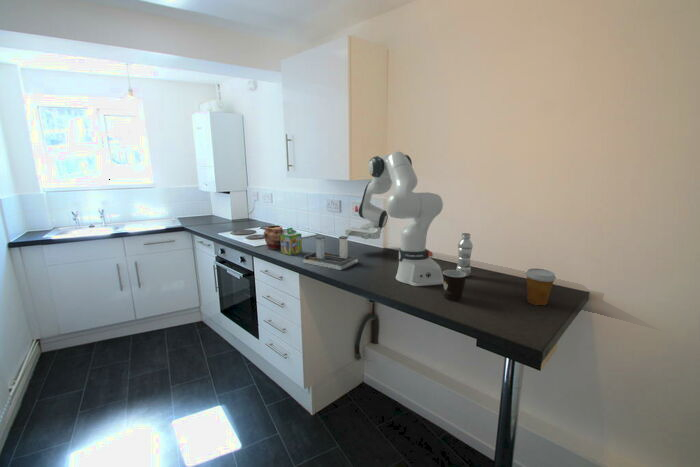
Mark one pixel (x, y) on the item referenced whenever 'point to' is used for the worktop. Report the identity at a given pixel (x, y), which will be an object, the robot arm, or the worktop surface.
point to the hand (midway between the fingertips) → (355, 235)
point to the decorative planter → (273, 236)
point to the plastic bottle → (464, 254)
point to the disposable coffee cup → (539, 285)
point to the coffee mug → (453, 284)
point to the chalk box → (291, 242)
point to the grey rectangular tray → (330, 261)
